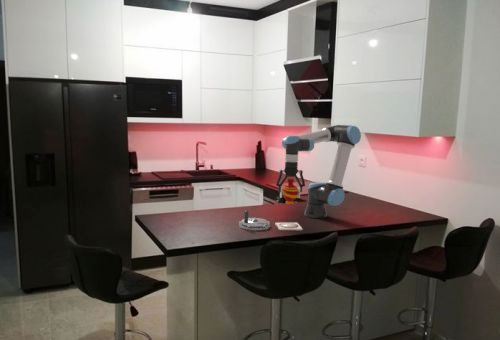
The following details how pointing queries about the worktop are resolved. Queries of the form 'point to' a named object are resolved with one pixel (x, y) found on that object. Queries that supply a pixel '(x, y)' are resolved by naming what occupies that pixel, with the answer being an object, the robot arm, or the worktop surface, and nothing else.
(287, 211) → the worktop surface
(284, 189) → the potion bottle
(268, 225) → the sprocket base
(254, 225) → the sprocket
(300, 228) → the seat
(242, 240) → the worktop surface
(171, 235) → the worktop surface
